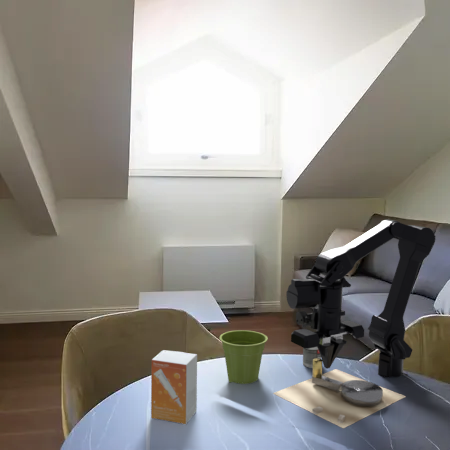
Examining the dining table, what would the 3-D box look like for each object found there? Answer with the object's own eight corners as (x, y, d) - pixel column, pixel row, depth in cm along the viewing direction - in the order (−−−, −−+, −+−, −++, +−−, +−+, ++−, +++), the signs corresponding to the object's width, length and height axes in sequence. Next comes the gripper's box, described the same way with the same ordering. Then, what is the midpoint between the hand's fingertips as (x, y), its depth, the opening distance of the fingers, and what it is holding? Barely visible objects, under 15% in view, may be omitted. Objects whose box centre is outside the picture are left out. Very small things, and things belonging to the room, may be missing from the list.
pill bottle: (320, 372, 131) (321, 341, 130) (302, 370, 132) (303, 339, 131) (320, 365, 135) (321, 335, 134) (303, 363, 136) (304, 333, 135)
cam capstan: (388, 396, 114) (390, 372, 113) (371, 410, 107) (373, 385, 106) (322, 375, 125) (323, 353, 124) (302, 387, 118) (303, 364, 117)
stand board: (335, 372, 130) (336, 366, 130) (405, 400, 115) (406, 393, 115) (272, 397, 116) (272, 389, 116) (343, 433, 101) (343, 424, 100)
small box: (150, 419, 105) (150, 359, 104) (163, 405, 111) (163, 348, 110) (186, 425, 103) (186, 364, 101) (197, 411, 109) (197, 353, 107)
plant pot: (274, 378, 126) (276, 335, 125) (251, 395, 117) (252, 349, 115) (235, 367, 133) (235, 326, 132) (209, 383, 123) (210, 339, 122)
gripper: (335, 293, 132) (333, 350, 134) (278, 302, 123) (276, 363, 124) (367, 303, 122) (364, 365, 124) (307, 313, 113) (305, 380, 115)
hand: (326, 367), depth 122 cm, fingers closed
